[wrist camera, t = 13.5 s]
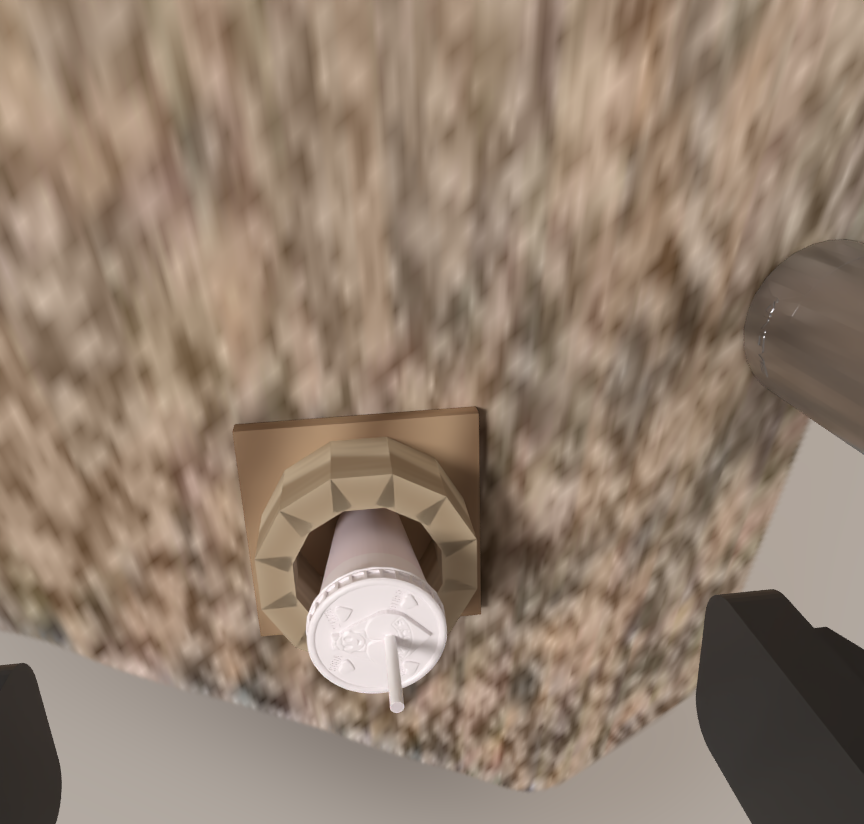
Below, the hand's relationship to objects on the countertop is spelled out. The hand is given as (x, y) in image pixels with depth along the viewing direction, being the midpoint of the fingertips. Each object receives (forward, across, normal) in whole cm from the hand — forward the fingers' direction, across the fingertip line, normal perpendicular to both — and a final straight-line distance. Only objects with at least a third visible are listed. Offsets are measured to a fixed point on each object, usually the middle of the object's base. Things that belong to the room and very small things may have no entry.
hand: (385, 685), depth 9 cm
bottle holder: (+32, 0, +16) cm, 36 cm away
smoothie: (+31, 0, +16) cm, 35 cm away
